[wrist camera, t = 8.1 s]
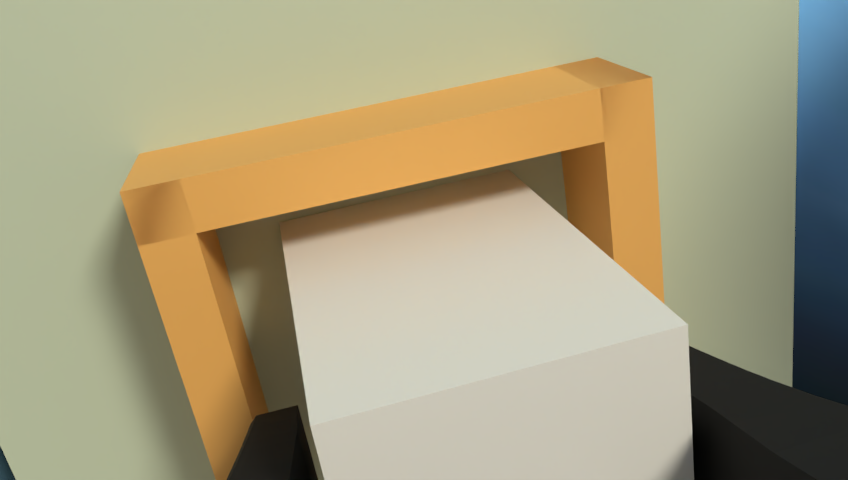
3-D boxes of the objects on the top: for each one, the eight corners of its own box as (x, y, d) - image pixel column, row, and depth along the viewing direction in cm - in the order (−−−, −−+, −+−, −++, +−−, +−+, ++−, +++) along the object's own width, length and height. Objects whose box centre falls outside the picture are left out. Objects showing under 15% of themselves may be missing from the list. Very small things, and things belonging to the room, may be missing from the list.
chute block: (507, 169, 14) (687, 324, 8) (538, 408, 16) (701, 661, 10) (279, 222, 13) (310, 425, 8) (340, 463, 15) (400, 763, 10)
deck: (765, -152, 14) (893, -172, 11) (763, 490, 19) (849, 585, 16) (-159, 17, 12) (-282, 43, 9) (129, 673, 17) (106, 813, 15)
